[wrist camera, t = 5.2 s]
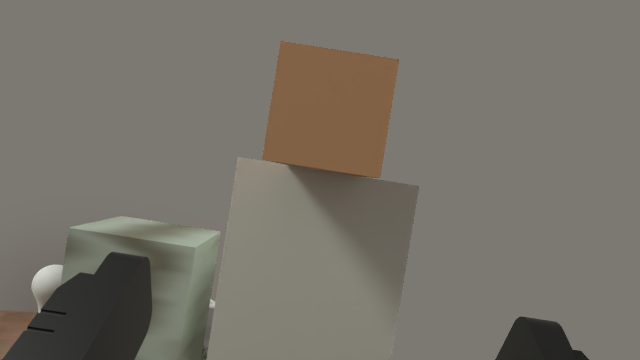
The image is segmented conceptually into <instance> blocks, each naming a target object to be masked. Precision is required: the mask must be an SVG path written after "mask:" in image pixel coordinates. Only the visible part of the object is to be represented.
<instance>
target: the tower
mask: <svg viewBox="0 0 640 360" xmlns="http://www.w3.org/2000/svg"><path fill="white" fill-rule="evenodd" d="M220 234H221V232H219V231H212V230H207V229H200V228H193V227H188V226H181V225H175V224H169V223H162V222H156V221H150V220H143V219H137V218H131V217H124V216H119V217H114V218H110V219H105V220H101V221H97V222H92V223H87V224H83V225H79V226H75V227H70V228H69V231H68V238H67V245H66V251H65V258H64V264H63V271H62V277H61V284H60V286H61V285H62V284H64V283H65V282H67V281H68V280H70V279H71V278H73V277H74V276H75V275H77V274H78V273H80V272H82V273H88V274H95V272H96V271H97V269H98V268H99V266H100V265H101V263H102V262H103V261H104V259H105V258H106V256H107V255H108V254H109V253H111V252H118V253H124V254H131V255H137V256H144V257H148V258H149V261H150V271H151V290H152V316H151V321H150V325H149V329H148V332H147V334H146V337H145V339H144V341H143V343H142V345H141V347H140V349H139V351H138V353H137V356H136V358H135V360H201V356H202V349H203V343H204V336H205V330H206V324H207V317H208V311H209V305H210V298H211V292H212V285H213V279H214V273H215V266H216V260H217V254H218V247H219V241H220Z"/></svg>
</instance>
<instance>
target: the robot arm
mask: <svg viewBox="0 0 640 360" xmlns="http://www.w3.org/2000/svg"><path fill="white" fill-rule="evenodd" d="M151 316H152V290H151V271H150V261H149V258H148V257H144V256H137V255H131V254H124V253H118V252H111V253H109V254H108V255H107V256H106V258H105V259H104V261H103V262H102V263H101V265H100V266H99V268H98V269H97V271H96V272H95V274H88V273H82V272H80V273H78V274H77V275H75V276H74V277H73V278H71V279H70V280H68V281H67V282H65V283H64V284H62V285H61V286H59V287H58V288H57V289H56V290H55V291H54V293H53V294H52V295H51V296H50V298H49V299H48V300H47V302H46V303H45V304H44V306H43V307H42V308H41V312H40V313H37V315H36V316H35V317H34V319H33V320H32V321H31V323H30V324H29V325H28V328H27V330H26V331H24V332H23V333H22V334H21V336H20V337H19V338H18V340H17V341H16V342H15V343H14V345H13V346H12V347H11V349H10V350H9V351H8V353H7V354H6V355H5V357H4V358H3V359H2V360H135V358H136V356H137V353H138V351H139V349H140V347H141V345H142V343H143V341H144V339H145V337H146V334H147V332H148V329H149V325H150V321H151ZM495 360H589V359H588V358H587V357H586V356H585V355H584V354H583V353H582V351H577V350H572V348H571V346H570V343H569V341H568V339H567V337H566V335H565V333H564V331H563V329H562V327H561V326H560V325H559V324H558V323H557V322H553V321H546V320H540V319H534V318H527V317H519V318H517V319H516V320H515V322H514V324H513V326H512V328H511V330H510V332H509V334H508V336H507V338H506V340H505V342H504V344H503V346H502V348H501V350H500V352H499V354H498V356H497V358H496V359H495Z"/></svg>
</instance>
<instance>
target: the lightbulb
mask: <svg viewBox="0 0 640 360" xmlns="http://www.w3.org/2000/svg"><path fill="white" fill-rule="evenodd" d="M62 271H63V266H62V265H50V266H47V267H44V268H42V269H41V270H40V271H39V272H38V273H37V274H36V275H35V277H34V279H33V281H32V292H33V294H34V297H35V299H36V301H37V304H38V313H40V312H41V308H42V307H43V306H44V304H45V303H46V302H47V300H48V299H49V298H50V296H51V295H52V294H53V293H54V291H55V290H56V289H57V288H58V287H59V286H60V284H61V277H62Z"/></svg>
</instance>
